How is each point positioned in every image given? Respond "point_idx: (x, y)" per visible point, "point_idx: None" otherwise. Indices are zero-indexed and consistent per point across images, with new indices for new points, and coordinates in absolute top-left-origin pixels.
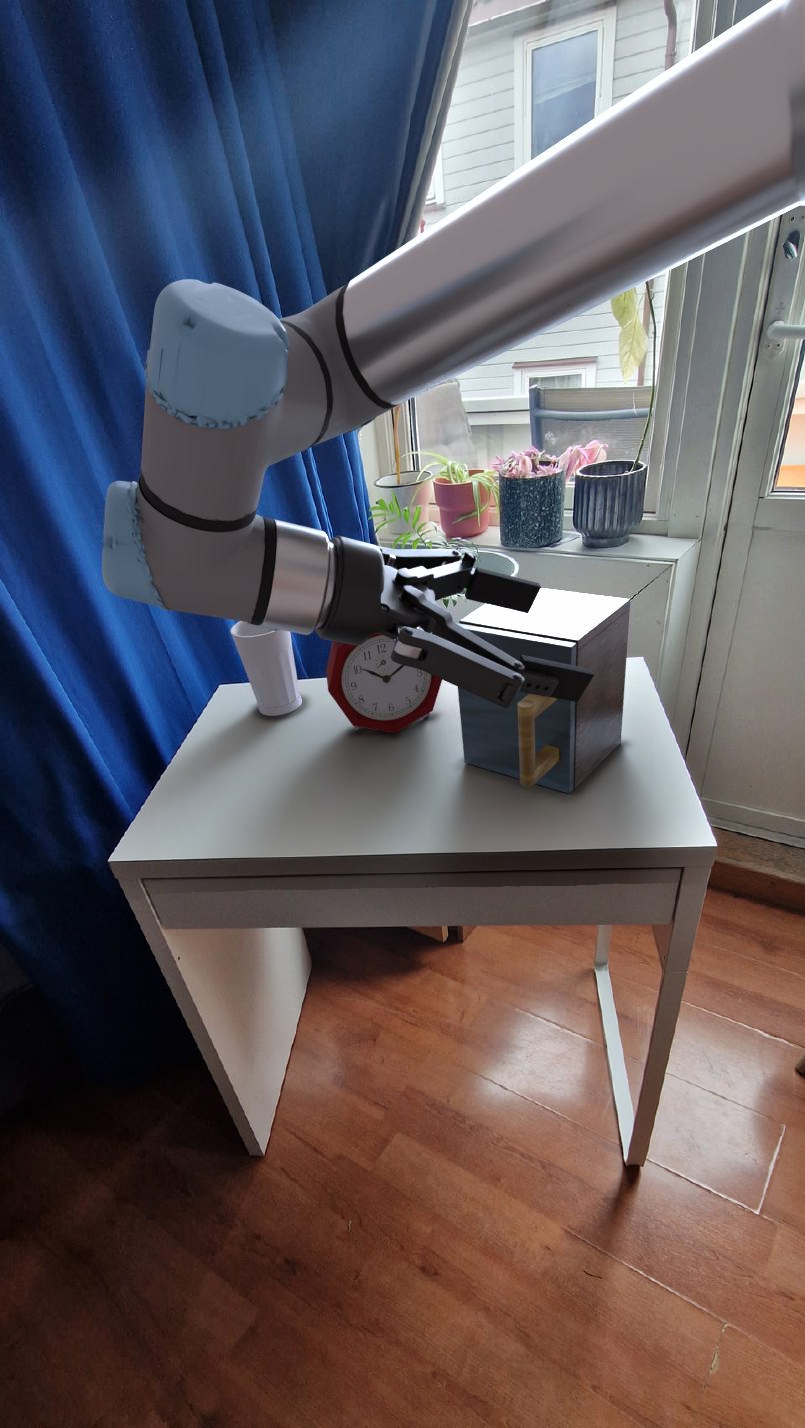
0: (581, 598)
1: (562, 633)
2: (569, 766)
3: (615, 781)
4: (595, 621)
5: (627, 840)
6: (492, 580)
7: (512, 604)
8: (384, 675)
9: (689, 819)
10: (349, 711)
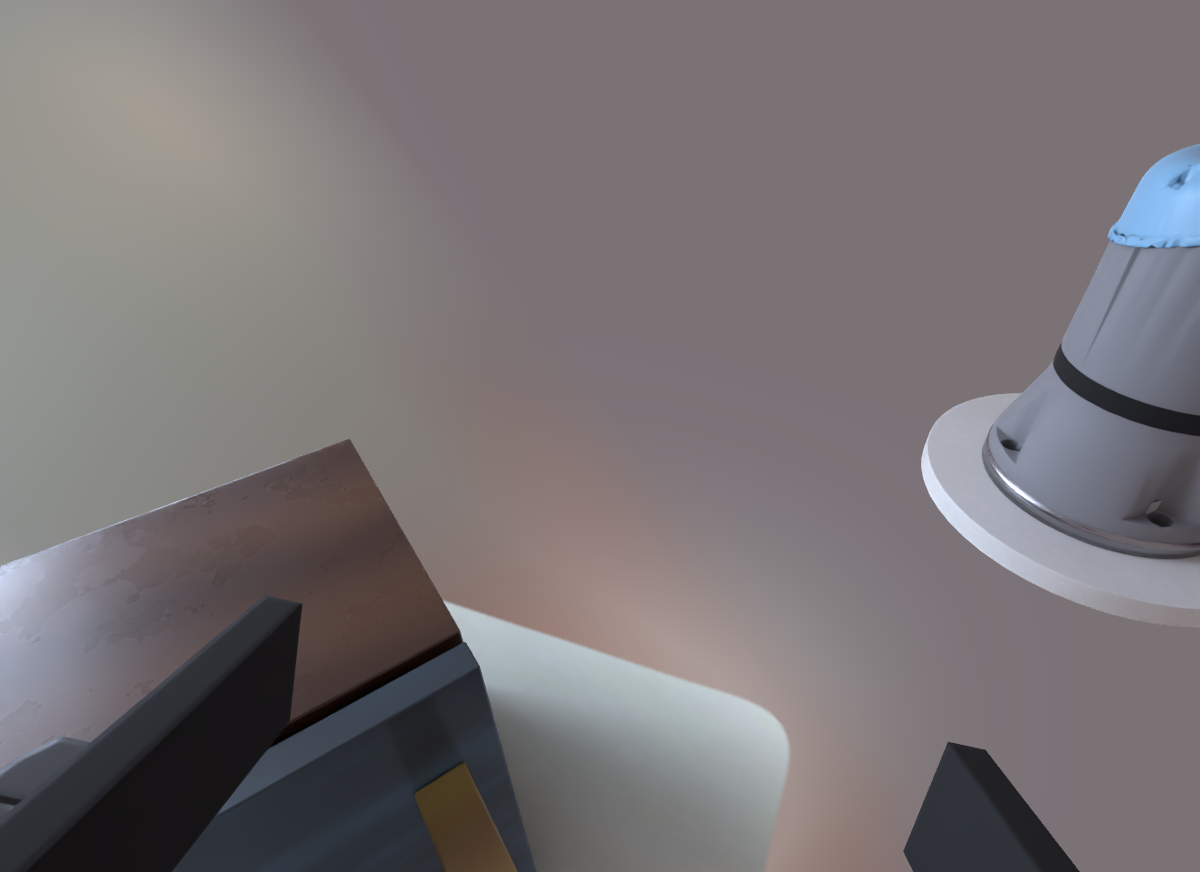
0: (223, 507)
1: (373, 646)
2: (530, 852)
3: (547, 753)
4: (386, 541)
5: (755, 844)
6: (91, 839)
7: (231, 772)
8: None
9: (724, 696)
10: None
